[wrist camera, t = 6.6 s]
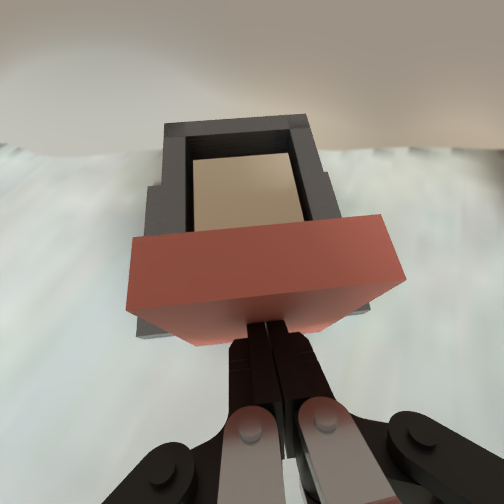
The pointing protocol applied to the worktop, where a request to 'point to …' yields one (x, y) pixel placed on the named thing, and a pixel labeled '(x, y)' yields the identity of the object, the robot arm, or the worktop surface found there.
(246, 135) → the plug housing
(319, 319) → the red plug
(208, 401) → the worktop surface
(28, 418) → the worktop surface
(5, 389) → the worktop surface
